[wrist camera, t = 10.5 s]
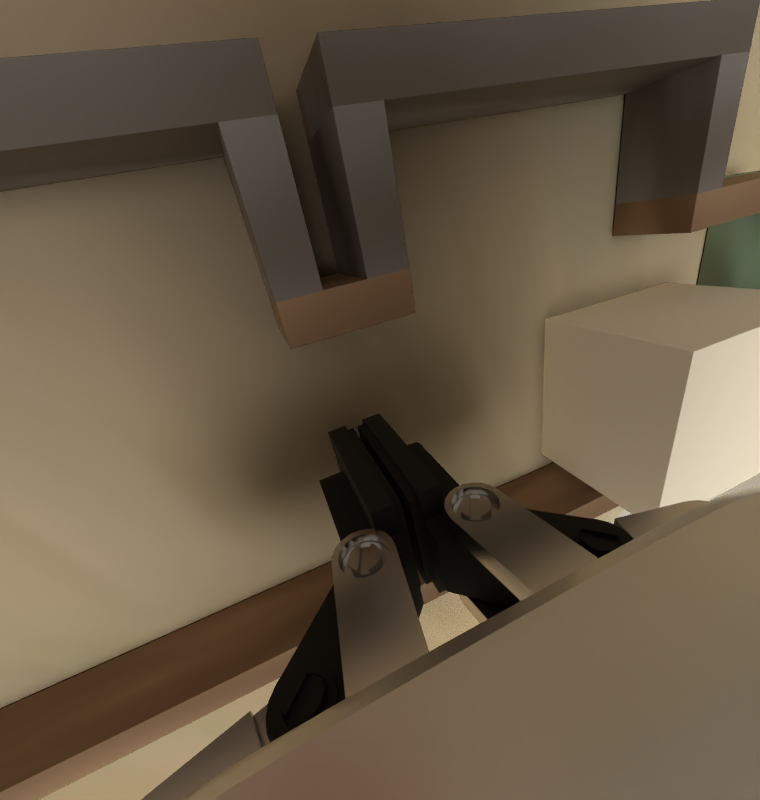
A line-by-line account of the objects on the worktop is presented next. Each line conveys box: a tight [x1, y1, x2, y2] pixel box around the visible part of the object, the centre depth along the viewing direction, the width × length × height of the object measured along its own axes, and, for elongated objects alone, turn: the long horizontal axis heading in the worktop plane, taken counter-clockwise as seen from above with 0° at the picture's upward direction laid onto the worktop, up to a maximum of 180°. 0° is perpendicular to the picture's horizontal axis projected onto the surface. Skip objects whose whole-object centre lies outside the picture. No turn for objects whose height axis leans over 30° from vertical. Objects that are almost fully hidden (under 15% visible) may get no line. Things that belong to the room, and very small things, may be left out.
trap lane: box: [0, 0, 760, 800], centre depth 10 cm, size 15×31×2 cm, turn 102°
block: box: [541, 283, 760, 514], centre depth 13 cm, size 6×6×5 cm
